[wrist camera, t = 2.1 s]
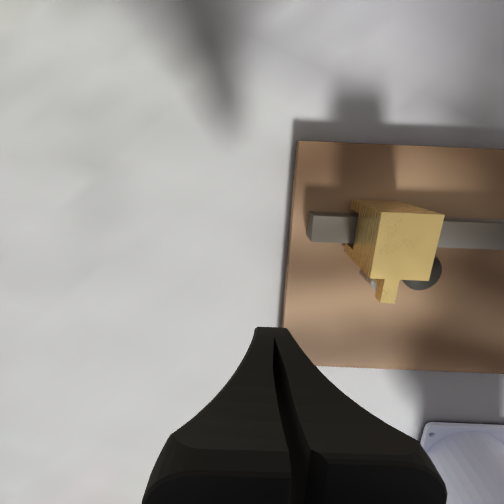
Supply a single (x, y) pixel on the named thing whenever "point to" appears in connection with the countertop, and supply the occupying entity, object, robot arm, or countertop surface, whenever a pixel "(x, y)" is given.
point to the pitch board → (409, 291)
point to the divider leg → (393, 244)
